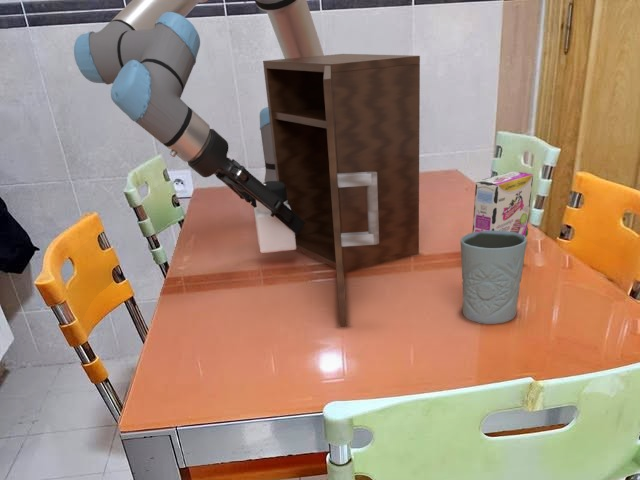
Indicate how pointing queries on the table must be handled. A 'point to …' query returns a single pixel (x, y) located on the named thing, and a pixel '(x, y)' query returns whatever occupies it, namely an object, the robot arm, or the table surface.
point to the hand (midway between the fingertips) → (289, 223)
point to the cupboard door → (337, 182)
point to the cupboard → (349, 149)
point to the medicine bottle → (273, 224)
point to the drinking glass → (491, 275)
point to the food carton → (503, 203)
